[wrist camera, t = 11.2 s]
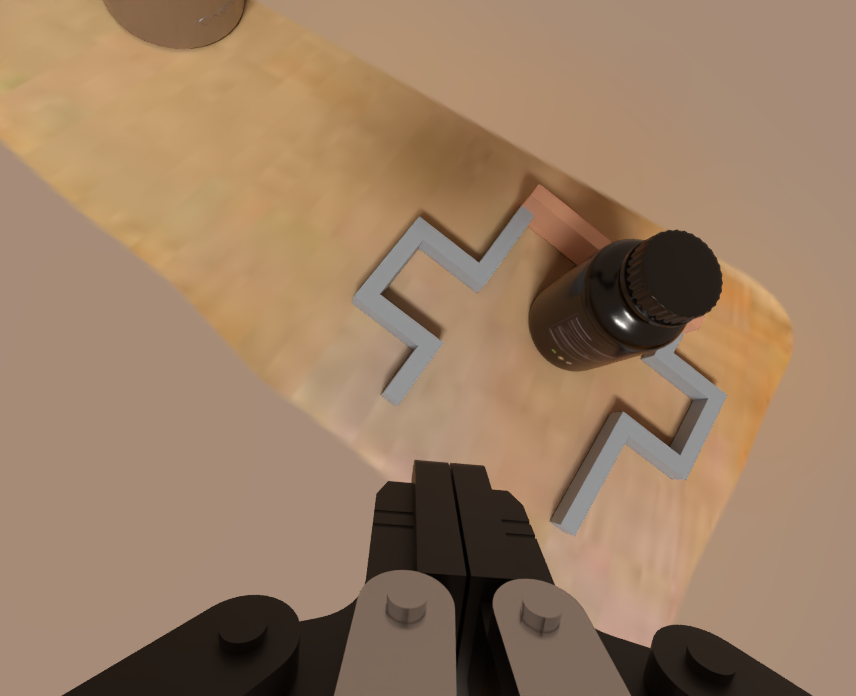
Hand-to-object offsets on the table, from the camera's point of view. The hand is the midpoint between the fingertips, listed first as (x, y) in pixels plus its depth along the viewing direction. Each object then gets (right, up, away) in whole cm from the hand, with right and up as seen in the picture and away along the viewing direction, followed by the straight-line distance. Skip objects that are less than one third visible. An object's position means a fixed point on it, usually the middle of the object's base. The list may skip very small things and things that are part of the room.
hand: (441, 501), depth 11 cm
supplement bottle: (+10, +5, +26) cm, 28 cm away
